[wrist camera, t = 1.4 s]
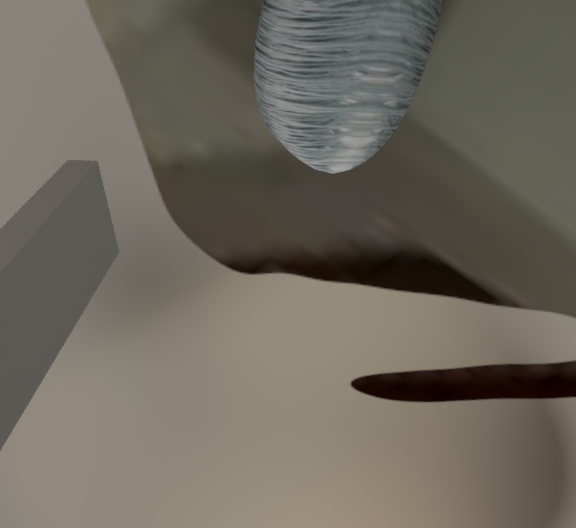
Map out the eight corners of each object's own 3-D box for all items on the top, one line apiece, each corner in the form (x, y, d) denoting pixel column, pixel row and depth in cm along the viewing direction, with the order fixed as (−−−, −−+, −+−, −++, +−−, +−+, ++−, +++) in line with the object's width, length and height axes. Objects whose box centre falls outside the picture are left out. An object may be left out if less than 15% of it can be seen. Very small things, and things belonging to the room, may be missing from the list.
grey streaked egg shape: (262, -178, 23) (338, -72, 18) (437, -133, 27) (543, -34, 22) (212, 85, 34) (252, 201, 28) (344, 92, 37) (401, 196, 32)
